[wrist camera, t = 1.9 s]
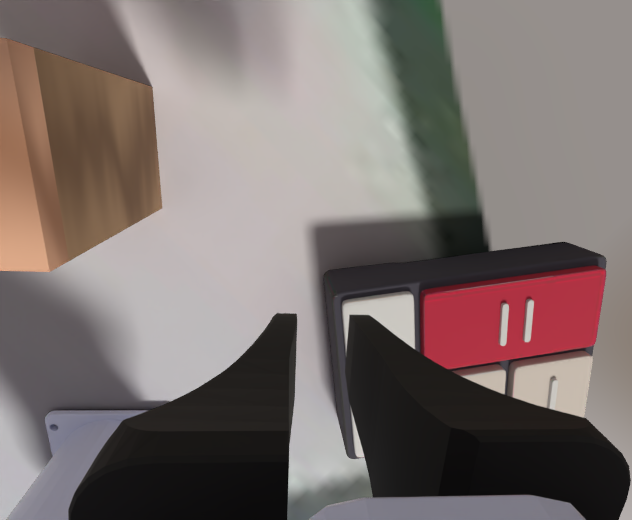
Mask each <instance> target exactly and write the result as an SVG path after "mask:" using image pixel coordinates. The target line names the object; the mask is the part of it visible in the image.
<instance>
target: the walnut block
mask: <svg viewBox="0 0 632 520" xmlns="http://www.w3.org/2000/svg"><path fill="white" fill-rule="evenodd" d="M161 208H162V200H161V188H160V176H159V163H158V151H157V139H156V127H155V114H154V102H153V90H152V87H151V86H148V85H145V84H142V83H139V82H136V81H133V80H130V79H127V78H124V77H121V76H118V75H115V74H112V73H109V72H106V71H103V70H100V69H97V68H94V67H91V66H88V65H85V64H82V63H79V62H76V61H73V60H70V59H67V58H64V57H61V56H58V55H55V54H52V53H49V52H46V51H43V50H40V49H37V48H34V47H31V46H28V45H25V44H22V43H19V42H16V41H13V40H10V39H7V38H0V271H34V272H50V271H52V270H54V269H56V268H57V267H59V266H61V265H63V264H64V263H66V262H68V261H70V260H72V259H73V258H75V257H77V256H79V255H80V254H82V253H84V252H86V251H87V250H89V249H91V248H93V247H94V246H96V245H98V244H100V243H102V242H103V241H105V240H107V239H109V238H110V237H112V236H114V235H116V234H117V233H119V232H121V231H123V230H124V229H126V228H128V227H130V226H132V225H133V224H135V223H137V222H139V221H140V220H142V219H144V218H146V217H147V216H149V215H151V214H153V213H154V212H156V211H158V210H160V209H161Z"/></svg>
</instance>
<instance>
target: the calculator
mask: <svg viewBox="0 0 632 520" xmlns="http://www.w3.org/2000/svg"><path fill="white" fill-rule="evenodd" d="M605 268H606V258H605V257H604V256H602V255H600V254H598V253H595V252H592V251H589V250H587V249H584V248H581V247H578V246H576V245H573V244H570V243H567V242H556V243H549V244H542V245H534V246H527V247H520V248H512V249H505V250H497V251H490V252H483V253H475V254H468V255H461V256H453V257H446V258H438V259H431V260H424V261H416V262H409V263H386V264H377V265H368V266H360V267H351V268H343V269H335V270H329V271H327V272H326V273H325V274H324V289H325V299H326V309H327V318H328V328H329V338H330V348H331V357H332V367H333V377H334V386H335V396H336V406H337V415H338V420H339V424H340V429H341V433H342V437H343V441H344V445H345V450H346V454H347V456H348V457H349V458H351V459H358V458H364V453H363V449H362V446H361V442H360V439H359V435H358V431H357V428H356V424H355V421H354V417H353V413H352V410H351V406H350V402H349V398H348V391H347V383H346V376H345V364H346V352H347V340H348V327H349V315H370V316H371V317H373V318H374V319H376V320H377V321H378V322H379V323H381V324H382V325H383V326H384V327H386V328H387V329H388V330H389V331H391V332H392V333H393V334H395V335H396V336H397V337H399V338H400V339H401V340H403V341H404V342H405V343H407V344H408V345H409V346H411V347H412V348H414V349H415V350H417V351H418V352H420V353H421V354H423V355H424V356H426V357H427V358H429V359H431V360H432V361H434V362H436V363H437V364H439V365H441V366H443V367H445V368H446V369H448V370H450V371H452V372H454V373H456V374H458V375H460V376H462V377H464V378H466V379H468V380H470V381H473V382H475V383H477V384H480V385H482V386H484V387H487V388H489V389H491V390H494V391H497V392H499V393H502V394H505V395H507V396H510V397H513V398H516V399H519V400H522V401H525V402H528V403H531V404H534V405H538V406H541V407H545V408H549V409H553V410H557V411H560V412H564V413H568V414H572V415H576V416H579V417H583V418H584V413H585V408H586V401H587V395H588V388H589V382H590V376H591V369H592V363H593V357H592V353H593V347H594V344H595V342H596V337H597V330H598V324H599V317H600V311H601V305H602V299H603V292H604V286H605V279H606V270H605Z"/></svg>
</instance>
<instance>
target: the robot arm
mask: <svg viewBox="0 0 632 520" xmlns="http://www.w3.org/2000/svg"><path fill="white" fill-rule="evenodd" d="M296 338H297V314H279V313H277V314H276V315H274V316H273V318H272V320H271V321H270V323H269V324H268V326H267V327H266V329H265V330H264V331H263V333H262V334H261V335H260V336H259V337H258V339H257V340H256V341H255V342H254V343H253V345H252V346H251V347H250V348H249V349H248V350H247V351H246V352H245V353H244V354H243V355H242V356H241V357H240V358H239V359H238V360H237V361H236V362H234V363H233V364H232V365H231V366H230V367H229V368H227V369H226V370H225V371H223V372H222V373H221V374H219V375H218V376H216V377H214V378H213V379H211V380H210V381H208V382H207V383H205V384H203V385H202V386H200V387H199V388H197V389H195V390H193V391H191V392H189V393H188V394H186V395H184V396H182V397H180V398H177V399H175V400H173V401H171V402H169V403H167V404H164V405H162V406H160V407H157V408H154V409H152V410H61V411H51V412H49V413H48V414H47V415H46V417H45V424H46V429H47V433H48V438H49V443H50V447H51V452H52V456H53V457H52V458H51V460H50V461H49V462H48V464H47V465H46V466H45V468H44V469H43V470H42V472H41V473H40V474H39V476H38V477H37V478H36V480H35V481H34V482H33V484H32V485H31V487H30V488H29V489H28V491H27V492H26V493H25V495H24V496H23V497H22V499H21V500H20V501H19V503H18V504H17V505H16V507H15V508H14V509H13V511H12V512H11V513H10V515H9V516H8V517H7V519H6V520H287V502H288V469H289V443H290V434H291V425H292V416H293V407H294V397H295V368H296ZM345 376H346V383H347V391H348V398H349V402H350V406H351V410H352V413H353V417H354V421H355V424H356V428H357V431H358V435H359V439H360V442H361V446H362V449H363V453H364V457H365V460H366V464H367V468H368V473H369V477H370V482H371V488H372V494H373V498H360V499H355V500H351V501H346V502H341V503H337V504H332V505H328V506H326V507H325V508H323V509H322V510H321V511H319V512H318V513H316V514H315V515H314V516H312V517H311V518H310V519H308V520H618V519H619V517H620V514H621V512H622V510H623V507H624V504H625V502H626V500H627V495H628V491H629V486H630V481H631V480H630V471H629V466H628V464H627V462H626V460H625V458H624V456H623V455H622V453H621V452H620V451H619V450H618V449H617V448H616V447H615V446H614V445H613V444H612V443H611V442H610V441H609V440H608V439H607V438H606V437H604V436H603V434H601V433H600V432H599V431H598V430H597V429H596V428H595V427H594V426H593V425H592V424H591V423H590V422H589V421H588V420H587V419H586V418H583V417H579V416H576V415H572V414H568V413H564V412H560V411H557V410H553V409H549V408H545V407H541V406H538V405H534V404H531V403H528V402H525V401H522V400H519V399H516V398H513V397H510V396H507V395H505V394H502V393H499V392H497V391H494V390H491V389H489V388H487V387H484V386H482V385H480V384H477V383H475V382H473V381H470V380H468V379H466V378H464V377H462V376H460V375H458V374H456V373H454V372H452V371H450V370H448V369H446V368H445V367H443V366H441V365H439V364H437V363H436V362H434V361H432V360H431V359H429V358H427V357H426V356H424V355H423V354H421V353H420V352H418V351H417V350H415V349H414V348H412V347H411V346H409V345H408V344H407V343H405V342H404V341H403V340H401V339H400V338H399V337H397V336H396V335H395V334H393V333H392V332H391V331H389V330H388V329H387V328H386V327H384V326H383V325H382V324H381V323H379V322H378V321H377V320H376V319H374V318H373V317H371V316H370V315H349V327H348V340H347V352H346V364H345ZM54 424H56V425H57V426H55V425H54Z"/></svg>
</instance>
